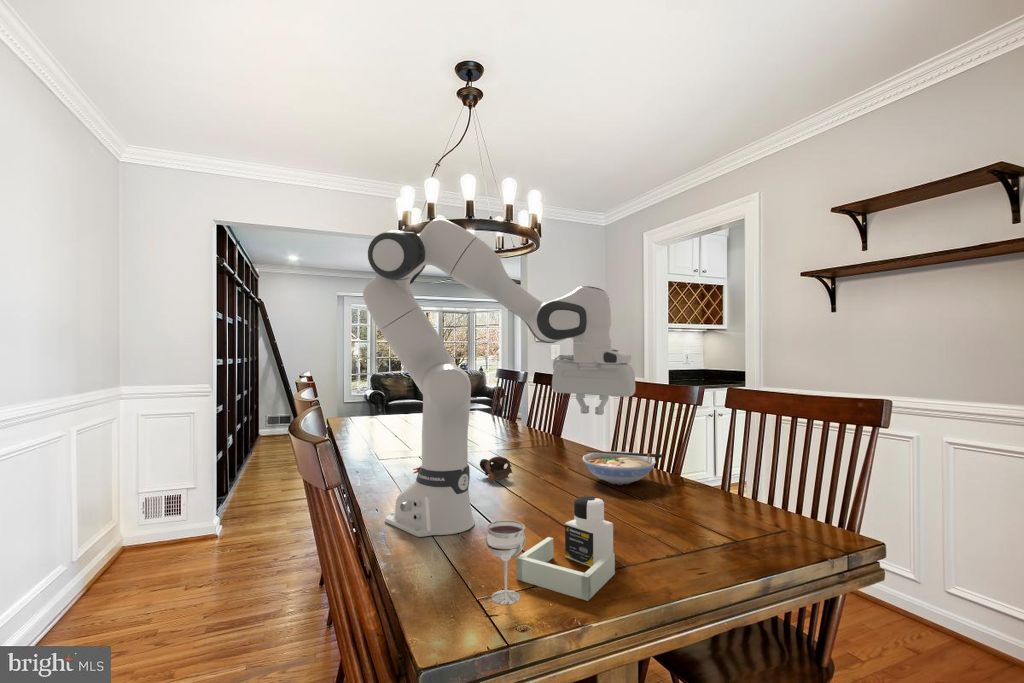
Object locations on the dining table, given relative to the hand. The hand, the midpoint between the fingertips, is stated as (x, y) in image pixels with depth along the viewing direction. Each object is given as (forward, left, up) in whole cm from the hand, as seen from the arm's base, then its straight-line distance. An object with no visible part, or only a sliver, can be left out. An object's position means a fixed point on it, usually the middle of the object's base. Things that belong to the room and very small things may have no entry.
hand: (592, 413), depth 118 cm
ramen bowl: (-10, +42, -27) cm, 51 cm away
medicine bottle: (+6, -15, -27) cm, 32 cm away
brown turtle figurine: (-45, +24, -27) cm, 58 cm away
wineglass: (+1, -38, -27) cm, 46 cm away
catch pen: (+6, -25, -27) cm, 38 cm away
